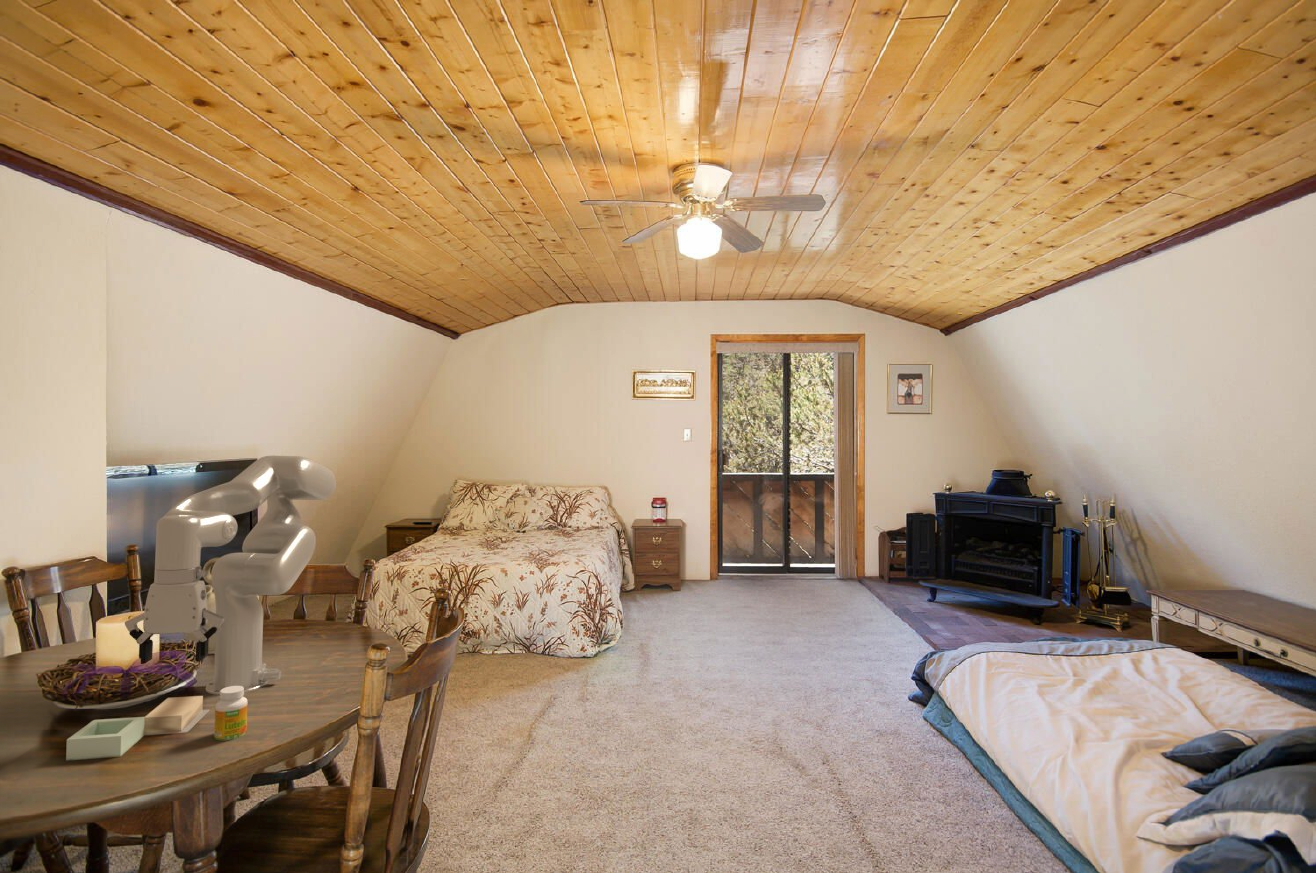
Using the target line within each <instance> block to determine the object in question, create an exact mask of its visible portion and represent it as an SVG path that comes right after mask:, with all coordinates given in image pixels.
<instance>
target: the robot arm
mask: <svg viewBox="0 0 1316 873" xmlns="http://www.w3.org/2000/svg"><path fill="white" fill-rule="evenodd" d="M336 479H337V478H336V476H335V473H333V471H332V470H331V469H329V468H328V467H326V466H324V465H322V464H320V463H318V462H317V461H314V460H312V459H310V458H308V457H305V456H300V455H299V456H297V455H265V456H262V457H260V458H258V459H257V460H255V461H254V462H252V464H250V465H249V466H248V467H246V468H245V469H244V470H242V472H240V473H239V474H238V475H236V476H235V477H234V478H233V479H232V480H230V481H228V482H225V483H222V484H218V485H216V486H212V487H210V488H207V489H205V490H202V491H199V492H196V493H194V494H191V495H189V496H187V497H185V498H184V499H182V500H181V501H179V502H178V503H177V504H175V505H174V506H173V507H171V509H169V510H168V511H167V513H165V515H163V517H161V518H159V519H158V520H157V522H156V532H155V534H156V536H155V554H154V555H155V556H154V557H155V560H154V578H153V579H154V581H153V583H151V584H150V585H149V588H148V592H147V597H146V600H145V606H144V612H143V613H141V614H139V615H136V616H134V617H132V618H130V619H128V620H126V621H125V622H124V625H125V628H126V629H127V631H128V632H129V635H130V636H131V637H132V638H133V639H134V640H135V641H136V643H137V645H138V646H139V647H138V659H139V660H140V664H141V665H145V664H147V663H148V662H149V661H152V660H153V650H154V641H153V639H152V637H153V636H154V635H169V634H171V635H174V634H185V633H193V634H194V635H195V636H196V637H197V638H198V639H199V641H198V642H197V643H196V654H195V662H201V661H203V660H204V659H206V657H207V656H208V655H207V654H208V645H209V638H210V637H211V636H212V635H213V634H214V633H215V654H214V662H213V663H214V669H213V670H214V671H213V672H214V673H213V680H212V681H211V682H209V683H208V684H207V685H206V686H205V692H206V693H208V694H209V695H210V694H211V695H216V696H220V691H221V690H222V689H223V688H226V687H230V686H242V687H244V693H249V692H252V691H255V690H257V689H260V688H263V687H264V686H266V685H267V684H268V683H270V680H271V681H273V680H280V679H281V677H282V670H279V668H270V669H269V668H268V667H267V663H266V662H263V634H264V633H263V628H264V609H263V605H262V603H261V601H260V598H259V597H258V595H259V596H260V595H261V596H278V595H282V594H285V593H287V592H288V591H289V590H290V589H292V587H293V585H294V584H295V583H296V582H297V580H298V578H299V577H300V575H301V574H302V572H303V571H304V570H305V568H306V567H307V565H308V564H309V562H310V560H311V559H312V557H313V555H314V553H315V550H316V544H317V543H316V542H317V538H316V534H315V531H314V529H312V528H311V527H310V526H307V525H304V524H301V521H302V520H301V516H300V513H299V511H298V509H297V508H296V507H295V504H294V502H293V500H294V501H295V500H297V501H298V500H299V501H324V500H325V501H327V500H328V499H330V498H331V497H332V496H333V495H334V494H335V492H336V490H337V480H336ZM265 502H266V505H267V506H266V512H264V514H263V515H262V517H261V518H260V519H259V521H258V522H257V523H256V524H255V526H254V527H253V528H252V529H251V530H250V532H248V534H247V535H246V537H245V539H244V540H243V543H242V547H241V549H242V552H231V553H227V554H224V555H222V556H221V557H218V558H219V559H218V560H217V561H216V562H215V563H214V564H213V565H212V567H211V568H212V569H211V572H210V574H211V579H212V585H213V590H214V595H215V604H216V614H215V613H213V612H211V611H208V605H207V594H206V587H205V585H206V584H205V580H201V578H203V577H206V576H207V573H208V572H207V570H203V569H202V566H201V553H202V552H201V551H202V548H207V547H208V548H209V547H210V548H211V547H213V548H214V547H215V548H216V547H221V546H226V545H227V544H229V543H230V542H231V541H232V540H234V538H235V537H236V535H237V532H238V526H239V525H238V522H237V520H236V518H235V517H234V516H236V515H241V514H244V513H248V512H251V511H255V510H256V509H258V508H260V506H261V505H262V504H263V503H265ZM208 620H210V621H212V622H213V625H212V627H211V628H210V629H209V630H207V629H206V627H205V626H206V625H207V622H208ZM140 622H143V623H142V626H143V628H142V629H143V630H141V628H139V626H138V623H140Z"/></svg>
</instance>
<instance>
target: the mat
mask: <svg viewBox="0 0 1316 873" xmlns="http://www.w3.org/2000/svg"><path fill="white" fill-rule="evenodd" d="M209 711H210V709H203V711H202V712H201V713H200V714H199V715H198V716H197V717H196V718H195V719H194V720H193V721H192V722H191V723H190V724H188V725H187V726H186V727H185V728H184V729H183V730H182V731H181V732H166V733H152V734H144V736H154V735H155V736H157V735H165V734H167V735H170V734H180V733H182V734H183V733H184V734H185V733H188V732H189V731H190V730H192V728H193V727H195V725H196V724H197V723H198V722H199V721H201V719H202V718H203V717H204V716H206V714H208V713H209Z"/></svg>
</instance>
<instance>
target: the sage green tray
mask: <svg viewBox="0 0 1316 873" xmlns="http://www.w3.org/2000/svg"><path fill="white" fill-rule="evenodd" d="M144 717H145V716H137V717H119V718H118V717H117V718H104V719H93V720H91V721H90V722H89V723H88V724H87V725H85V726H84V727H82V728H81V729H80V730H78V731H77V732H75V733H74V734H72V735H71V736H70V737H68V738H67V739H66V747H65V748H66V750H65V751H66V753H65V755H66V756H65V760H66V761H77V760H79V761H81V760H89V759H90V760H92V759H106V758H117V757H120V758H121V757H122V756H123V755H124V754H125V753H126V752H127V751H129V749H131V748H132V747H133V746H135V745H136V744H137V743H138V742H139V741H140V740H141V739H143V738H144V737H145V735H144Z"/></svg>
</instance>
